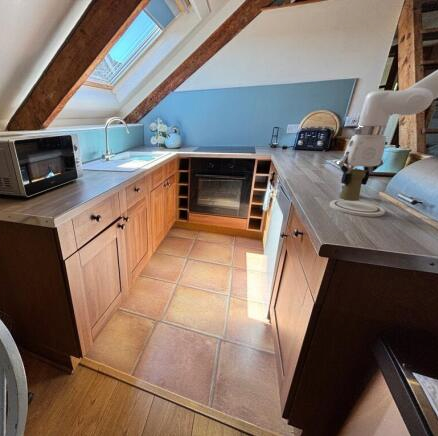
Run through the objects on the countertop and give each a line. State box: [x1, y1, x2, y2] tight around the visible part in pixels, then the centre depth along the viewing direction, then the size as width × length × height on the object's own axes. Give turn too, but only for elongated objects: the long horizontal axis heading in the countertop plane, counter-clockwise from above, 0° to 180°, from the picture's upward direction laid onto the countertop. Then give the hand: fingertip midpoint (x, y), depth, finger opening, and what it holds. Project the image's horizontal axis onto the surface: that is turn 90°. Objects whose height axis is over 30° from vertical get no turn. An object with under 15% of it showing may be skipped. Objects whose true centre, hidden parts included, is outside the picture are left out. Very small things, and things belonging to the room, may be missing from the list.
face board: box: [329, 199, 386, 218], centre depth 91 cm, size 16×16×1 cm
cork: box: [338, 168, 366, 201], centre depth 89 cm, size 6×6×11 cm
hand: (353, 183), depth 89 cm, fingers closed on cork, 5 cm apart
